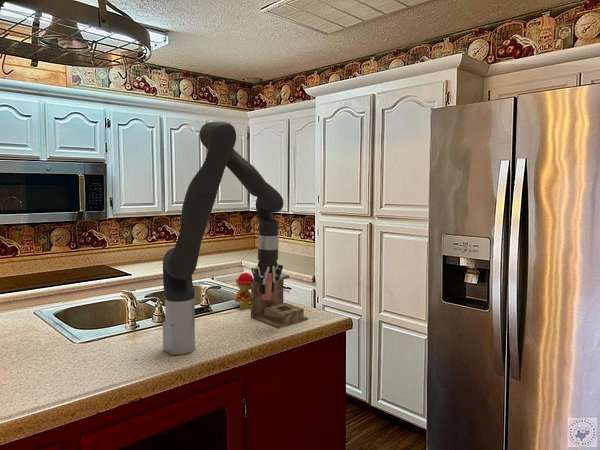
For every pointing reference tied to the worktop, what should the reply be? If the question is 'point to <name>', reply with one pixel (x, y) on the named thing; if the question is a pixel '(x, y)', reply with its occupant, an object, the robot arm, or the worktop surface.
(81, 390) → the worktop surface
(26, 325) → the worktop surface
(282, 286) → the socket station
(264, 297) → the peg
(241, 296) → the toy
